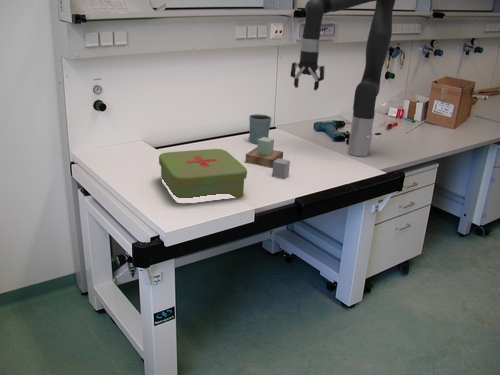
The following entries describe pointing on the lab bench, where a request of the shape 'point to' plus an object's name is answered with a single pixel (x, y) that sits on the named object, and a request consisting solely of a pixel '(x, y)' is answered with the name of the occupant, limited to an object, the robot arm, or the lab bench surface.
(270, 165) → the walnut block
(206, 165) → the first aid kit
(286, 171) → the grey block
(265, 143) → the green block
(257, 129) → the grey-green plant pot
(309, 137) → the lab bench surface
